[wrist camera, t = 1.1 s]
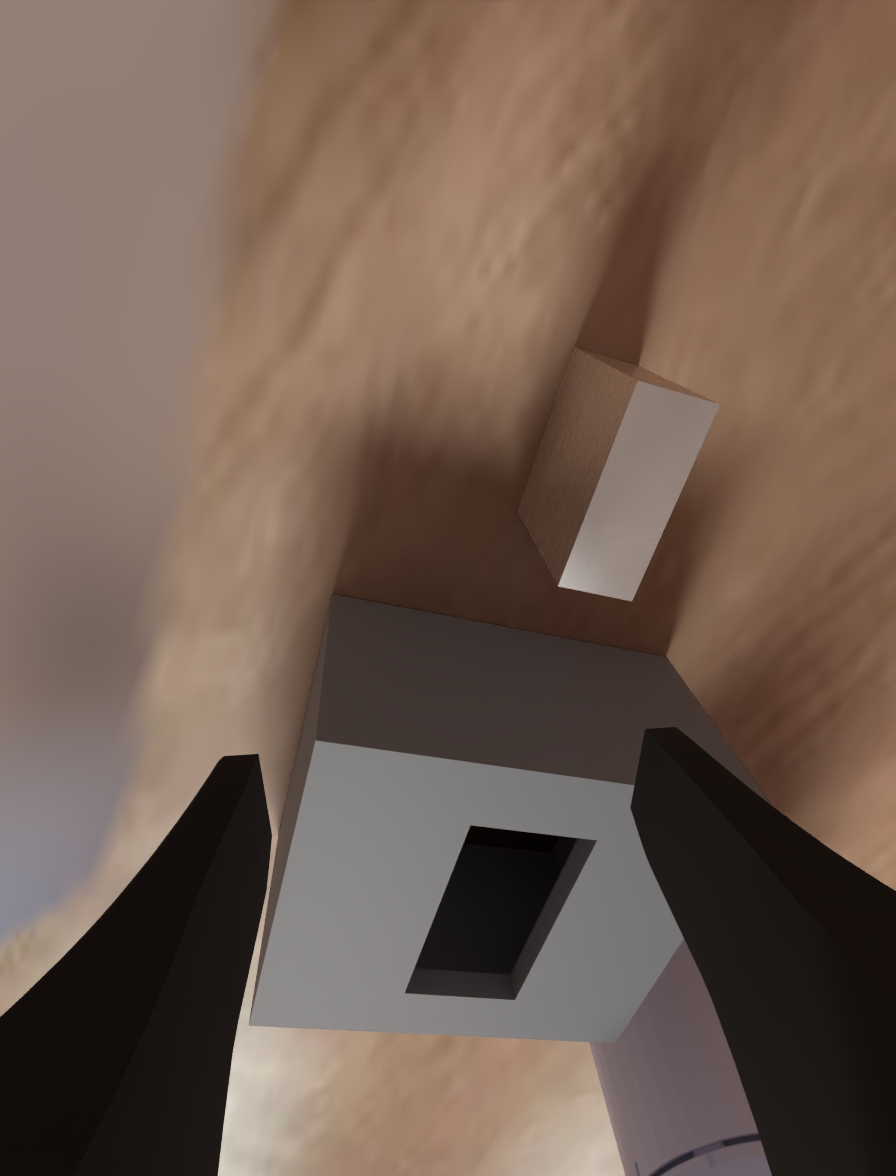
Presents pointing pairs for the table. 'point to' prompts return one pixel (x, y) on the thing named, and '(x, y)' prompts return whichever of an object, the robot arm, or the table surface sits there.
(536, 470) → the block
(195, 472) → the table surface
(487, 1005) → the coin box
